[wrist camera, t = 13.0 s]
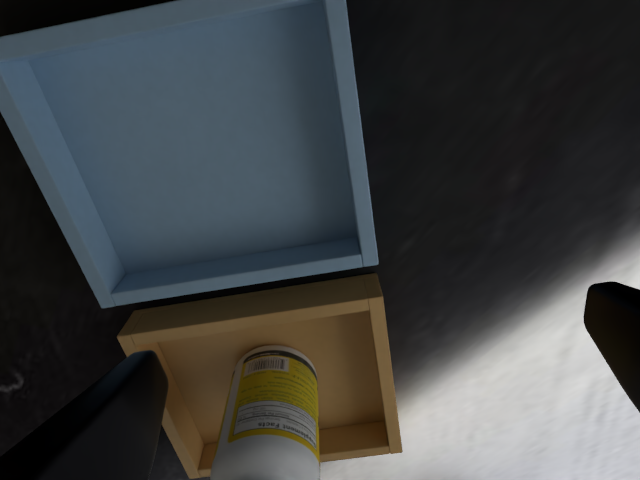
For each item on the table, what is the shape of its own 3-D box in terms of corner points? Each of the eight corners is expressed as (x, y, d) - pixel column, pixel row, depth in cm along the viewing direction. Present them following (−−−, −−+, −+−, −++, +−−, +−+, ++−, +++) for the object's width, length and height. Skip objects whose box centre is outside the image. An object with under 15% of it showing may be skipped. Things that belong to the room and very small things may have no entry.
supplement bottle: (281, 415, 27) (266, 592, 18) (217, 377, 26) (166, 551, 17) (335, 371, 26) (347, 543, 17) (270, 327, 24) (244, 491, 15)
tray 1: (337, -25, 16) (341, -35, 14) (372, 243, 22) (379, 265, 20) (8, 43, 17) (-36, 43, 15) (121, 283, 23) (101, 308, 21)
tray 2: (376, 272, 23) (382, 296, 21) (395, 421, 28) (402, 452, 26) (133, 310, 24) (116, 336, 22) (198, 447, 29) (189, 479, 27)
